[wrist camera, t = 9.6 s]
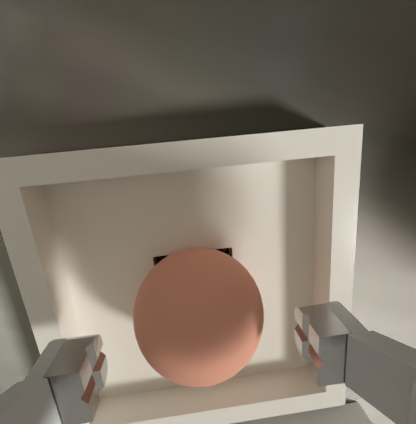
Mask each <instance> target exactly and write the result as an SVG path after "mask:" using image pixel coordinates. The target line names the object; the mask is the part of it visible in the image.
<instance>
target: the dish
mask: <svg viewBox="0 0 416 424" xmlns="http://www.w3.org/2000/svg"><path fill="white" fill-rule="evenodd" d="M362 137H363V124H355V125H343V126H331V127H320V128H309V129H299V130H288V131H277V132H267V133H256V134H245V135H235V136H224V137H214V138H203V139H192V140H182V141H171V142H160V143H150V144H139V145H129V146H118V147H107V148H97V149H86V150H75V151H65V152H54V153H43V154H33V155H22V156H13V157H3V158H0V230H1V233H2V237H3V240H4V243H5V246H6V249H7V252H8V255H9V259H10V262H11V265H12V268H13V271H14V274H15V277H16V280H17V284H18V287H19V290H20V293H21V296H22V299H23V302H24V306H25V309H26V312H27V315H28V318H29V321H30V324H31V327H32V331H33V334H34V337H35V340H36V343H37V346H38V349H39V353H40V355H41V354H42V352H43V351H44V349H45V348H46V346H47V345H48V343H49V342H50V341H52V340H54V339H62V338H69V337H78V336H87V335H96V334H99V335H100V336H101V338H102V342H103V346H102V349H101V352H102V353H104V354H105V355H106V358H107V366H108V370H107V379H106V382H105V386H104V388H103V389H102V390H101V391H100V392H99V393H98V395H99V399H100V401H99V404H98V408H97V411H96V414H95V417H94V420H93V422H88V423H83V424H231V423H237V422H243V421H249V420H255V419H262V418H268V417H274V416H280V415H286V414H292V413H298V412H305V411H311V410H317V409H323V408H329V407H335V406H342V405H345V401H346V385H345V383H342V384H334V385H326V386H318V385H317V384H316V382H315V380H314V378H313V376H312V375H311V373H310V371H309V369H308V361H307V360H305V359H304V358H302V356H301V354H300V353H299V350H298V348H297V345H296V340H295V330H294V328H295V327H296V326H297V324H298V323H297V321H296V319H295V318H294V311H295V308H296V307H303V306H310V305H317V304H323V303H327V302H333V301H338V302H340V303H341V304H342V305H343V306H344V307H345V308H346V309H347V310H348V311H349V312H350V313H351V308H352V292H353V277H354V261H355V246H356V230H357V215H358V199H359V183H360V168H361V152H362ZM200 247H203V248H210V249H223V248H229V255H230V256H231V257H233V258H234V259H236V260H237V261H238V262H240V263H241V264H242V265H243V266H244V267H245V268H246V269H247V270H248V272H249V273H250V275H251V276H252V277H253V279H254V281H255V283H256V285H257V287H258V289H259V292H260V294H261V298H262V303H263V309H264V323H263V331H262V335H261V339H260V342H259V344H258V347H257V349H256V351H255V353H254V355H253V356H252V358H251V359H250V361H249V362H248V363H247V364H246V365H245V367H244V368H243V369H241V370H240V371H239V372H238V373H237V374H236V375H234V376H233V377H231V378H230V379H228V380H226V381H224V382H221V383H219V384H217V385H213V386H208V387H188V386H183V385H179V384H176V383H174V382H171V381H170V380H168V379H166V378H164V377H163V376H161V375H160V374H159V373H158V372H156V371H155V370H154V369H153V368H152V367H151V366H150V364H149V363H148V362H147V361H146V359H145V357H144V356H143V354H142V352H141V351H140V349H139V346H138V343H137V340H136V337H135V333H134V325H133V310H134V304H135V300H136V296H137V293H138V290H139V288H140V286H141V284H142V282H143V280H144V279H145V277H146V276H147V274H148V273H149V272H150V271H151V269H152V268H153V267H154V266H155V265H156V264H157V258H156V257H157V256H165V255H171V254H173V253H175V252H178V251H181V250H184V249H188V248H200Z"/></svg>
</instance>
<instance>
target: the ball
mask: <svg viewBox="0 0 416 424" xmlns="http://www.w3.org/2000/svg"><path fill="white" fill-rule="evenodd" d="M263 323H264V309H263V303H262V298H261V294H260V292H259V289H258V287H257V285H256V283H255V281H254V279H253V277H252V276H251V275H250V273H249V272H248V270H247V269H246V268H245V267H244V266H243V265H242V264H241V263H240V262H238V261H237V260H236V259H234V258H233V257H231V256H230V255H228V254H226V253H224V252H221V251H218V250H215V249H210V248H203V247H200V248H188V249H184V250H181V251H178V252H175V253H173V254H171V255H169V256H167V257H165V258H164V259H162V260H161V261H160V262H159V263H158V264H156V265H155V266H154V267H153V268H152V269H151V271H150V272H149V273H148V274H147V276H146V277H145V279H144V280H143V282H142V284H141V286H140V288H139V290H138V293H137V296H136V300H135V304H134V310H133V325H134V333H135V337H136V340H137V343H138V346H139V349H140V351H141V352H142V354H143V356H144V357H145V359H146V361H147V362H148V363H149V364H150V366H151V367H152V368H153V369H154V370H155V371H156V372H158V373H159V374H160V375H161V376H163V377H164V378H166V379H168V380H170V381H171V382H174V383H176V384H179V385H183V386H188V387H208V386H213V385H217V384H219V383H221V382H224V381H226V380H228V379H230V378H231V377H233V376H234V375H236V374H237V373H238V372H239V371H240V370H241V369H243V368H244V367H245V365H246V364H247V363H248V362H249V361H250V359H251V358H252V356H253V355H254V353H255V351H256V349H257V347H258V344H259V342H260V339H261V335H262V331H263Z"/></svg>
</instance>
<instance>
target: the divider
mask: <svg viewBox="0 0 416 424" xmlns="http://www.w3.org/2000/svg"><path fill="white" fill-rule="evenodd" d="M231 424H372V422H371V421H370V419H369V418H368V416H367V415H366V413H365V412H364V410H363V409H362V407H361V406H360V404H359V403H358V402H354V403H348V404H345V405H342V406H335V407H329V408H323V409H317V410H311V411H305V412H298V413H292V414H286V415H280V416H274V417H268V418H262V419H255V420H249V421H243V422H237V423H231Z"/></svg>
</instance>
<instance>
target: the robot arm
mask: <svg viewBox="0 0 416 424" xmlns="http://www.w3.org/2000/svg"><path fill="white" fill-rule="evenodd" d="M294 318H295V319H296V321H297V323H298V324H297V326H296V327H295V328H294V330H295V340H296V345H297V348H298V350H299V353H300V354H301V356H302V358H304V359H305V360H307V361H308V369H309V371H310V373H311V375H312V376H313V378H314V380H315V382H316V384H317V385H318V386H326V385H334V384H342V383H345V385H346V386H347V387H349V388H350V389H351V390H352V391H354V392H355V393H356V394H358V395H359V396H360V397H362V398H363V399H364V400H366V401H367V402H368V403H370V404H371V405H372V406H374V407H375V408H376V409H377V410H379V411H380V412H381V413H383V414H384V415H385V416H387V417H388V418H389V419H391V420H392V421H393V422H395V423H396V424H416V349H414V348H412V347H410V346H407V345H405V344H403V343H400V342H398V341H396V340H393V339H391V338H389V337H386V336H384V335H382V334H379V333H377V332H375V331H368V330H367V329H366V328H365V327H364V326H363V325H362V324H361V323H360V322H359V321H358V320H357V319H356V318H355V317H354V316H353V315H352V314H351V313H350V312H349V311H348V310H347V309H346V308H345V307H344V306H343V305H342V304H341V303H340V302H338V301H333V302H327V303H323V304H317V305H310V306H303V307H296V308H295V311H294ZM102 346H103V342H102V338H101V336H100V335H99V334H96V335H87V336H78V337H69V338H62V339H54V340H52V341H50V342H49V343H48V345H47V346H46V348H45V349H44V351H43V352H42V354H41V355H40V357H39V358H38V360H37V361H36V363H35V364H34V366H33V367H32V369H31V370H30V372H29V373H28V375H27V376H26V378H25V379H24V381H22V382H17V383H16V384H14V385H13V386H12V387H10V388H9V389H8V390H6V391H5V392H4V393H2V394H1V395H0V424H83V423H88V422H93V420H94V417H95V414H96V411H97V408H98V404H99V401H100V399H99V395H98V393H99V392H100V391H101V390H102V389H103V388H104V386H105V382H106V379H107V370H108V366H107V358H106V355H105V354H104V353H102V352H101V349H102Z"/></svg>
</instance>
